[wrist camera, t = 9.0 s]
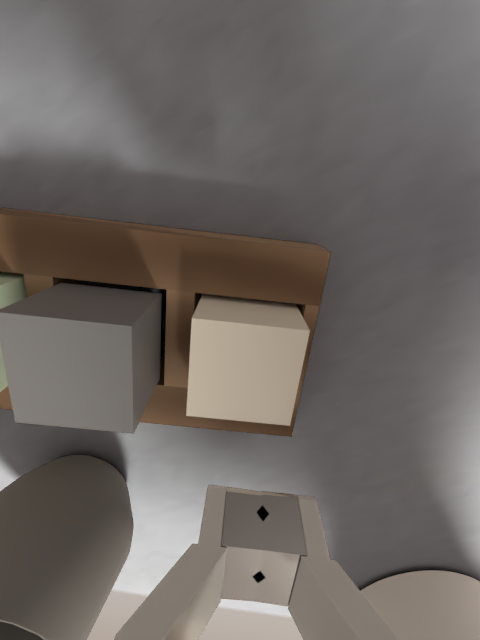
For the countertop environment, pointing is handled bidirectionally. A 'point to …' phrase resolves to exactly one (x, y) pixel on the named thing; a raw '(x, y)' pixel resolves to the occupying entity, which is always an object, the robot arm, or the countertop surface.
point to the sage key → (4, 292)
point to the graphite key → (82, 356)
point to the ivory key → (245, 359)
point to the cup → (61, 547)
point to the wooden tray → (166, 284)
